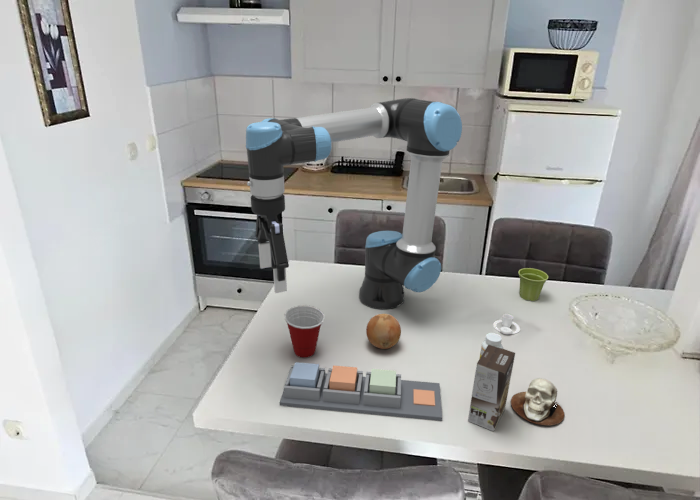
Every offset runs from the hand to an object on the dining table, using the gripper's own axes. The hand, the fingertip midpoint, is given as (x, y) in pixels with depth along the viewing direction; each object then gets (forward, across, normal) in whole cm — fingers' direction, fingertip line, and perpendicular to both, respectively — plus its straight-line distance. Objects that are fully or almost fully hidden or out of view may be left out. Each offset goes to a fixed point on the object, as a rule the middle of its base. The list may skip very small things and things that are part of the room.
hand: (272, 278), depth 117 cm
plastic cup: (+27, -4, +9) cm, 28 cm away
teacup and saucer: (+28, +6, +66) cm, 72 cm away
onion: (+27, +1, +30) cm, 40 cm away
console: (+26, +18, +16) cm, 36 cm away
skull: (+27, +38, +52) cm, 70 cm away
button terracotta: (+23, +16, +12) cm, 31 cm away
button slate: (+23, +11, +4) cm, 26 cm away
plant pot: (+27, -5, +89) cm, 93 cm away
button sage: (+24, +21, +20) cm, 37 cm away
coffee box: (+27, +35, +40) cm, 60 cm away
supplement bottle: (+27, +21, +52) cm, 62 cm away
